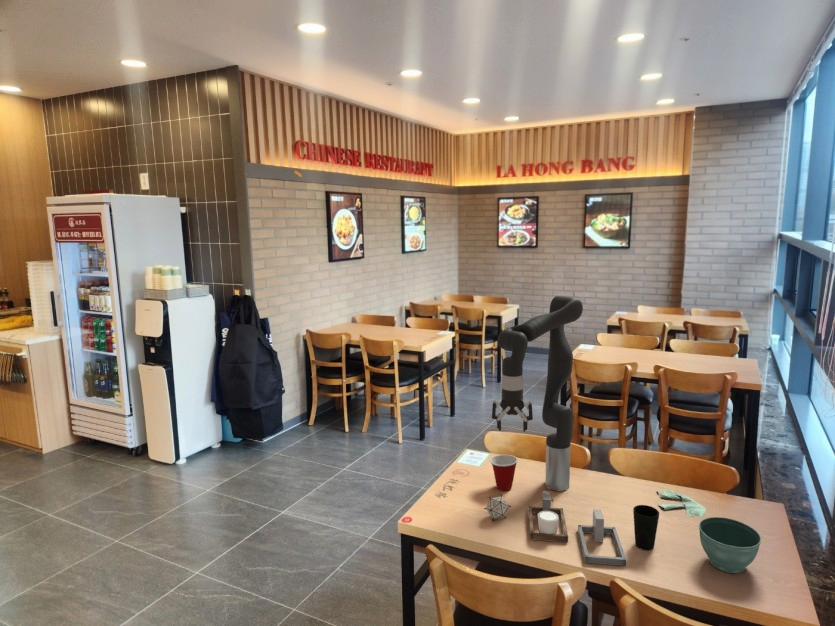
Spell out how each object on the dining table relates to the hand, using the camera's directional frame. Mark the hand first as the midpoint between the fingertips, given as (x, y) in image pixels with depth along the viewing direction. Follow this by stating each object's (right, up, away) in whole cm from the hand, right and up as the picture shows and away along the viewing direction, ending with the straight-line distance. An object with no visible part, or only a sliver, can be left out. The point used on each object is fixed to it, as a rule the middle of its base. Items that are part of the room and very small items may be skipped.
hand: (512, 430), depth 195 cm
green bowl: (+60, -34, -30) cm, 75 cm away
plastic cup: (0, -27, +21) cm, 34 cm away
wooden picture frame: (+11, -31, -7) cm, 34 cm away
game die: (-5, -31, -1) cm, 31 cm away
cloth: (+61, -29, +7) cm, 68 cm away
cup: (+39, -33, -20) cm, 55 cm away
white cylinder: (+10, -33, -12) cm, 36 cm away
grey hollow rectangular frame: (+25, -33, -20) cm, 46 cm away
